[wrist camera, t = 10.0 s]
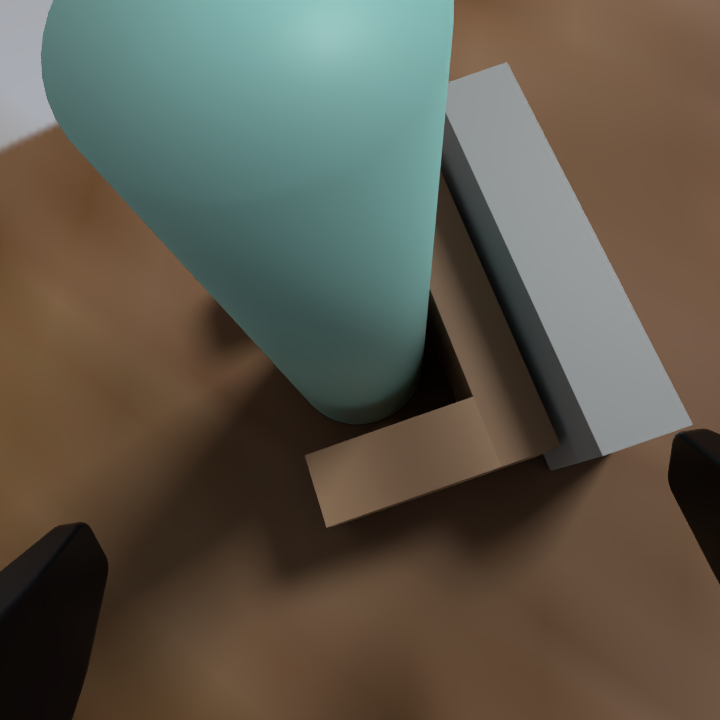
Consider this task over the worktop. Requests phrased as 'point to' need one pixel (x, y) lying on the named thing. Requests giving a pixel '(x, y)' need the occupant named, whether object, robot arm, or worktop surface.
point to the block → (453, 422)
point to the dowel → (276, 166)
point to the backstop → (551, 276)
